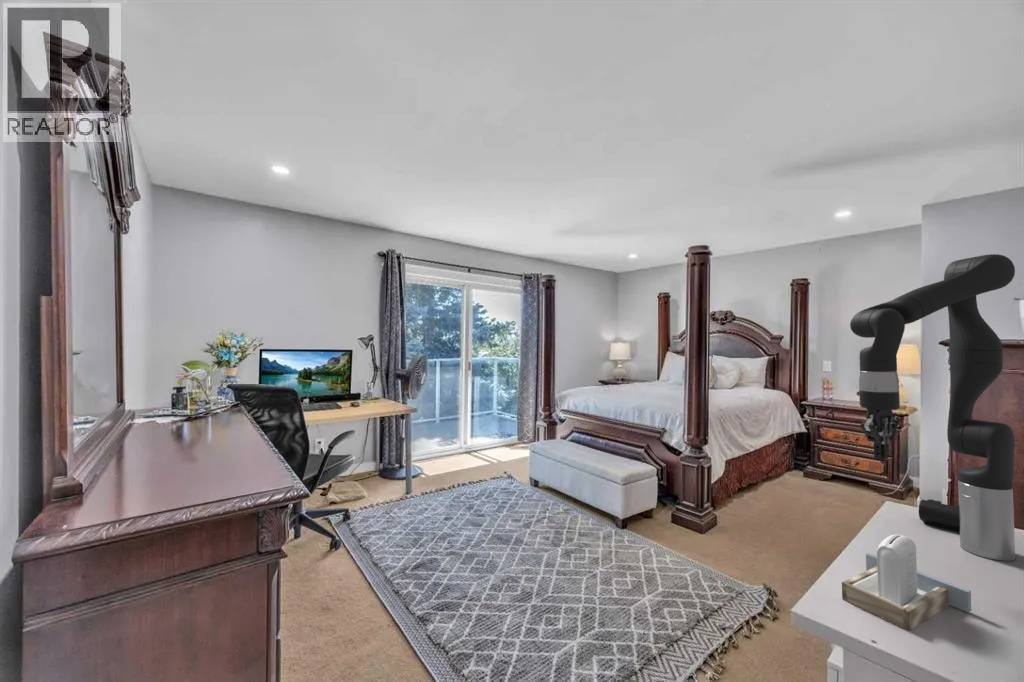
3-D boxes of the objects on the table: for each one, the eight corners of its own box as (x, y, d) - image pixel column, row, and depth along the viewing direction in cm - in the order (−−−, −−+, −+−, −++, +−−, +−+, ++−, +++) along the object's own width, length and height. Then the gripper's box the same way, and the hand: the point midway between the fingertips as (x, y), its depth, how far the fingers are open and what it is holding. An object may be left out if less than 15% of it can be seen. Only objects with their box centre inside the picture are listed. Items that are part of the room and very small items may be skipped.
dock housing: (908, 630, 79) (908, 611, 79) (842, 599, 88) (841, 582, 89) (947, 606, 85) (946, 589, 85) (881, 579, 95) (880, 564, 95)
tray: (933, 636, 76) (932, 614, 76) (829, 588, 92) (829, 570, 92) (971, 610, 83) (970, 590, 83) (869, 569, 99) (868, 552, 99)
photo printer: (894, 583, 91) (892, 527, 92) (920, 593, 88) (918, 534, 88) (874, 599, 86) (872, 539, 86) (902, 610, 83) (899, 547, 83)
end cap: (918, 524, 122) (918, 501, 122) (925, 518, 126) (924, 496, 126) (968, 537, 114) (967, 512, 114) (974, 530, 118) (973, 506, 118)
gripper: (883, 392, 98) (885, 466, 98) (911, 388, 104) (913, 458, 103) (846, 389, 105) (848, 458, 105) (874, 386, 110) (876, 451, 110)
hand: (881, 458), depth 104 cm, fingers closed
